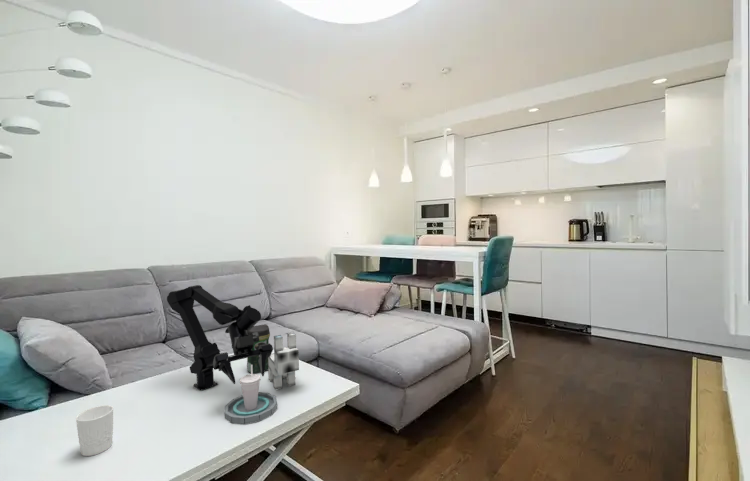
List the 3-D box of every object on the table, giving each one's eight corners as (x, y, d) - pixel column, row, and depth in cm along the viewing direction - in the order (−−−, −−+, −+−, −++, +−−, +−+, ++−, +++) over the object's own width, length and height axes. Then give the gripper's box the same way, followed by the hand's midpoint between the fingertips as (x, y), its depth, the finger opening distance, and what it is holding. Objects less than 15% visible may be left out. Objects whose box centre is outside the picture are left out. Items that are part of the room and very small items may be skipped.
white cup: (92, 440, 99) (90, 406, 99) (121, 438, 100) (119, 404, 99) (70, 459, 91) (68, 421, 91) (102, 456, 92) (100, 419, 91)
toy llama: (285, 372, 142) (284, 324, 141) (299, 390, 127) (298, 336, 126) (267, 377, 139) (265, 327, 138) (279, 395, 124) (277, 339, 123)
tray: (215, 412, 113) (215, 406, 113) (259, 393, 125) (259, 387, 125) (241, 430, 103) (241, 423, 103) (286, 407, 115) (286, 401, 115)
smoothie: (260, 410, 111) (258, 367, 111) (238, 413, 110) (237, 369, 110) (262, 401, 118) (261, 360, 117) (242, 403, 116) (241, 362, 116)
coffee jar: (268, 363, 152) (266, 321, 152) (273, 369, 146) (272, 326, 145) (245, 368, 147) (243, 325, 146) (249, 375, 141) (247, 330, 140)
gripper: (213, 330, 112) (222, 376, 104) (270, 320, 123) (282, 361, 115) (209, 347, 119) (217, 391, 111) (264, 336, 130) (275, 376, 121)
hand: (249, 379), depth 114 cm, fingers open, 9 cm apart
